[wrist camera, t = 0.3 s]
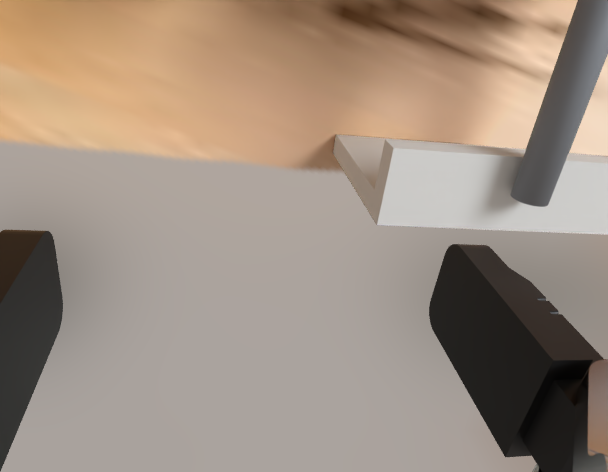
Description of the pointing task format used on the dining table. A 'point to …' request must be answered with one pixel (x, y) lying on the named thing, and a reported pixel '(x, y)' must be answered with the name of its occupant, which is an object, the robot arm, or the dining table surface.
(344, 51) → the dining table surface
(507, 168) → the white channel bracket
